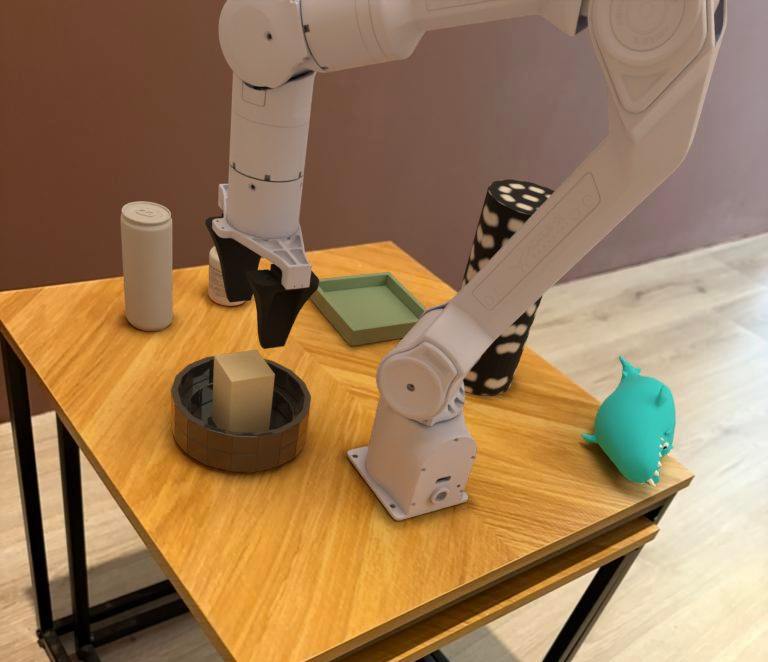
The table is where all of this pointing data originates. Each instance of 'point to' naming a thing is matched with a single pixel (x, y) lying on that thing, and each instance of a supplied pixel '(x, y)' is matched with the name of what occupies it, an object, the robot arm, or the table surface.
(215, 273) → the pill bottle
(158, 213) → the beverage can
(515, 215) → the white-spotted black cylinder
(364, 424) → the table surface
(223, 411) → the block
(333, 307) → the tray
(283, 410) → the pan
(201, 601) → the table surface
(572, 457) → the table surface
